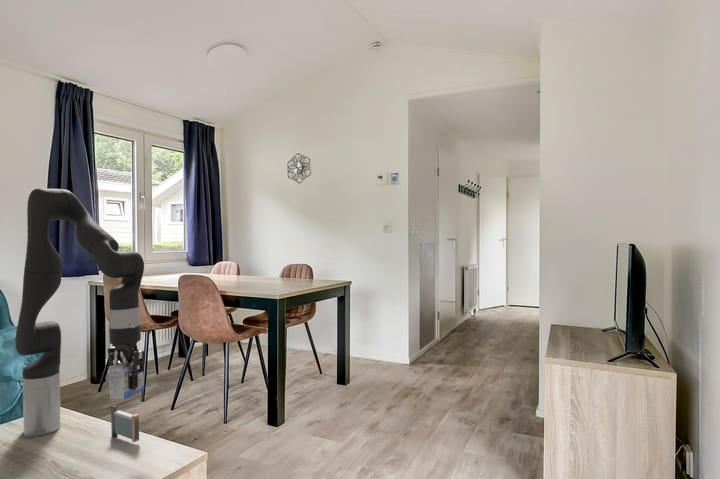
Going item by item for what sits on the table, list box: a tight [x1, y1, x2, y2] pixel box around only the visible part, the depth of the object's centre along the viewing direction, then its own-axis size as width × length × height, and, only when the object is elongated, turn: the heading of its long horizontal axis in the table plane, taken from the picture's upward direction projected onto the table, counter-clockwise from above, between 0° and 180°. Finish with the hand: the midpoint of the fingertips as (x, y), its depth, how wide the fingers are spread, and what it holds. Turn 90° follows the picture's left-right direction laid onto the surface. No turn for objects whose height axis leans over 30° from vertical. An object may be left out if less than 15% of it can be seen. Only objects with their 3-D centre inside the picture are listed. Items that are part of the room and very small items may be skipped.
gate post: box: [110, 405, 119, 439], centre depth 131 cm, size 2×2×9 cm
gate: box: [114, 409, 140, 443], centre depth 128 cm, size 10×1×7 cm, turn 59°
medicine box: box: [108, 362, 145, 400], centre depth 120 cm, size 8×4×9 cm, turn 167°
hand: (127, 387), depth 119 cm, fingers closed on medicine box, 5 cm apart
